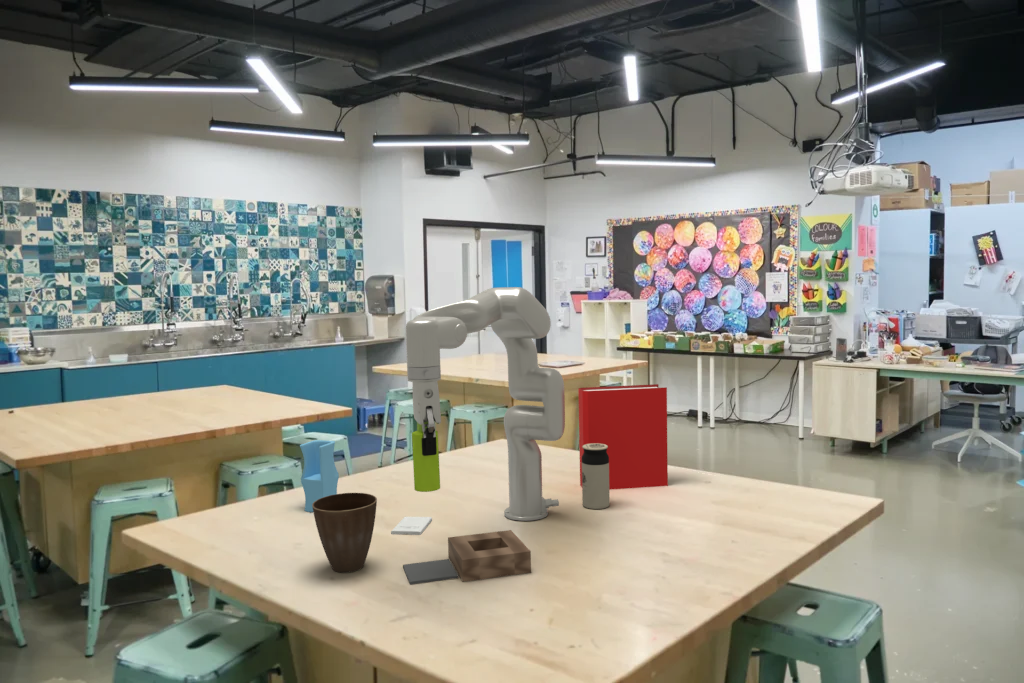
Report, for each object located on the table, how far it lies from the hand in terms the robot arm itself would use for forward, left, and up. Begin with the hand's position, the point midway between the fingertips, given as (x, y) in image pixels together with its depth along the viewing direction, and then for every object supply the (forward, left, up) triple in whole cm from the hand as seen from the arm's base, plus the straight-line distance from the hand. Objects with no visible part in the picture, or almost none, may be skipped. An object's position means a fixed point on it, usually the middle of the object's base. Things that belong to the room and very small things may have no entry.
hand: (426, 451), depth 174 cm
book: (-73, -53, -29) cm, 94 cm away
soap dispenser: (0, 0, -9) cm, 9 cm away
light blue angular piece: (+22, -62, -29) cm, 72 cm away
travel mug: (-56, -35, -29) cm, 72 cm away
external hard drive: (-1, -34, -29) cm, 45 cm away
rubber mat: (0, 0, -28) cm, 28 cm away
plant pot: (+18, -10, -29) cm, 35 cm away
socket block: (-14, 0, -28) cm, 32 cm away
